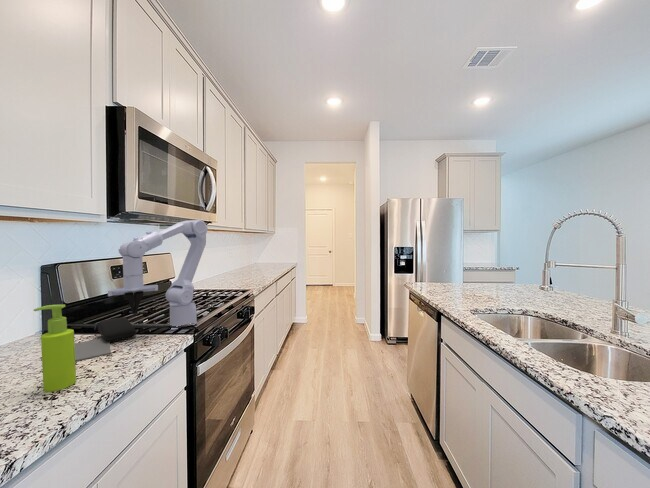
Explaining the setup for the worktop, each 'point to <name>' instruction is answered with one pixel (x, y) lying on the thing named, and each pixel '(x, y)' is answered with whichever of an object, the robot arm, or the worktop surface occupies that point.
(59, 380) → the soap dispenser
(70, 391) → the worktop surface
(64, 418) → the worktop surface
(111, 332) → the black upright slab
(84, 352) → the mat
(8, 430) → the worktop surface
